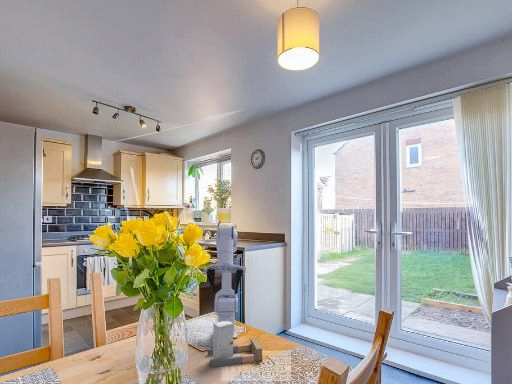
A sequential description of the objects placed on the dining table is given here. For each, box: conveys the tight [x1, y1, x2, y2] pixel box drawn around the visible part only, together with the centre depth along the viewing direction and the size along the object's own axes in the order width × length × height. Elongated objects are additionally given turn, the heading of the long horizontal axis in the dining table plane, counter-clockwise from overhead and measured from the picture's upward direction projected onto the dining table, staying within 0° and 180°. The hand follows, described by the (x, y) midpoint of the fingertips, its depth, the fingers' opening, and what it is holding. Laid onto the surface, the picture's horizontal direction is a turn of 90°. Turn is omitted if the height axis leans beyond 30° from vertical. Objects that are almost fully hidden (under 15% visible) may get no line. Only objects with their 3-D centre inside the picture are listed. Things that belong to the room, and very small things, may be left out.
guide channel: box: [207, 337, 263, 368], centre depth 107 cm, size 9×18×4 cm, turn 104°
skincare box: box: [212, 321, 234, 359], centre depth 106 cm, size 6×4×12 cm
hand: (224, 292), depth 99 cm, fingers open, 7 cm apart
